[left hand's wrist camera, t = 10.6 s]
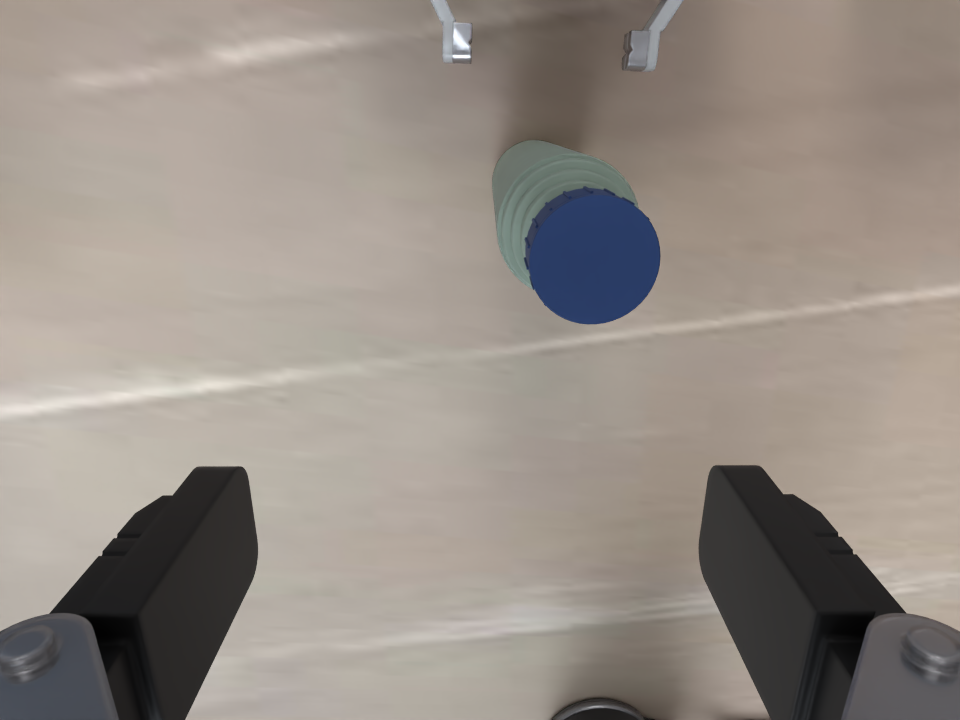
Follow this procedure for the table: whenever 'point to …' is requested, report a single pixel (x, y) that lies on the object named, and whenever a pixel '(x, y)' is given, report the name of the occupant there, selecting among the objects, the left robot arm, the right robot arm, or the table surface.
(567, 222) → the cap
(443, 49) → the right robot arm
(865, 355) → the table surface
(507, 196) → the bottle
